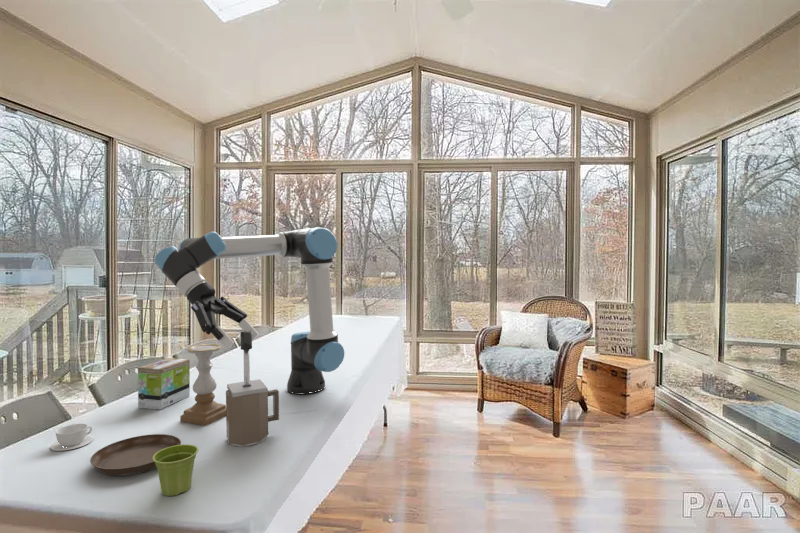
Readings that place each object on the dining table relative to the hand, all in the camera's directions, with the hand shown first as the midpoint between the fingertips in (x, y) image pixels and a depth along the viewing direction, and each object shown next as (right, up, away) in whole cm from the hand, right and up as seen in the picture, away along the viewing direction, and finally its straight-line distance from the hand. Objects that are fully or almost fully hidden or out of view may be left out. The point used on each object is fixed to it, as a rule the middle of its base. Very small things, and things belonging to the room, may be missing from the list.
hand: (243, 341), depth 127 cm
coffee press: (+2, -29, +3) cm, 29 cm away
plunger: (0, -19, +1) cm, 19 cm away
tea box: (-41, -28, +33) cm, 60 cm away
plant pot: (-6, -30, -26) cm, 40 cm away
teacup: (-49, -30, -2) cm, 58 cm away
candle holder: (-19, -29, +18) cm, 39 cm away
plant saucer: (-24, -30, -12) cm, 40 cm away
